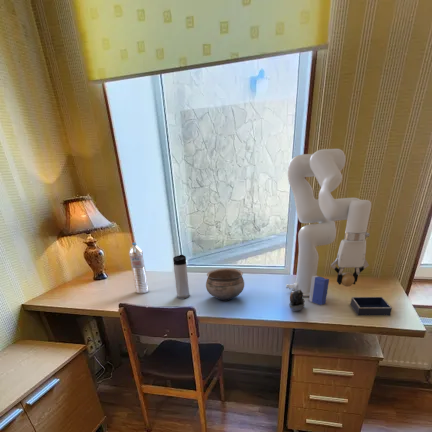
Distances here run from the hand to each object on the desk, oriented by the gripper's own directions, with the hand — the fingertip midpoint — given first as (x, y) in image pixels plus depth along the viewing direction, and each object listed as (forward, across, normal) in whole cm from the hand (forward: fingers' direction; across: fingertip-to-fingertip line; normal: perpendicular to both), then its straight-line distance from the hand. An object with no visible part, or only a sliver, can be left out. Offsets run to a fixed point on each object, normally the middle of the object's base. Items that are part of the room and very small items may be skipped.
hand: (346, 283), depth 137 cm
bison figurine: (-14, +22, -32) cm, 42 cm away
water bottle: (+13, +98, -31) cm, 104 cm away
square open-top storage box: (+13, -13, -3) cm, 19 cm away
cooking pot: (+13, +52, -20) cm, 57 cm away
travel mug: (+13, +74, -23) cm, 79 cm away
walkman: (+13, +8, -13) cm, 20 cm away
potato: (+1, 0, 0) cm, 1 cm away
